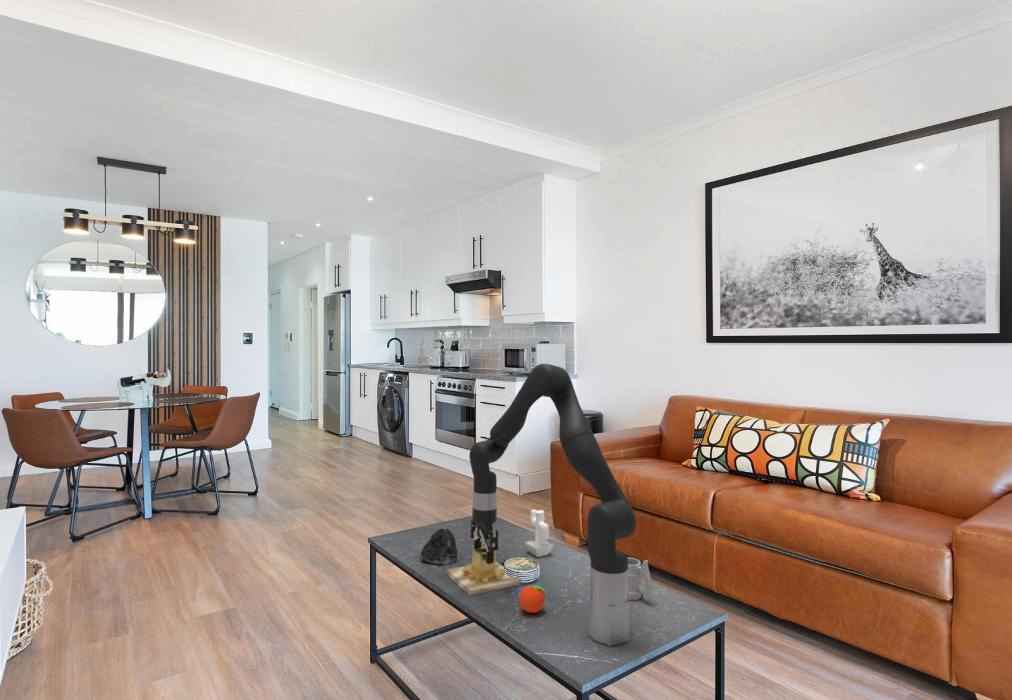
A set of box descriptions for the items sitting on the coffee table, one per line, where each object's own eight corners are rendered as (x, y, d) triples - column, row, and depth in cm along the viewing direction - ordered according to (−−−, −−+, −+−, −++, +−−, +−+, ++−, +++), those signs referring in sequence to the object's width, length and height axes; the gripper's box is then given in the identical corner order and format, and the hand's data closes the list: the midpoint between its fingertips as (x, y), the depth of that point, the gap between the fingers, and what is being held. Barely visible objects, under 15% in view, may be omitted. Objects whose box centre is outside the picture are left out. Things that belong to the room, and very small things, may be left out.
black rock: (433, 571, 182) (437, 541, 182) (410, 555, 193) (414, 526, 192) (466, 565, 191) (470, 535, 191) (443, 550, 201) (447, 522, 201)
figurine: (537, 560, 192) (538, 515, 192) (522, 551, 200) (524, 508, 200) (555, 556, 195) (556, 513, 195) (540, 548, 204) (541, 506, 204)
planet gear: (509, 578, 173) (510, 553, 173) (474, 585, 167) (474, 559, 167) (491, 564, 183) (492, 541, 183) (458, 570, 178) (458, 546, 178)
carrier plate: (520, 584, 172) (521, 558, 172) (469, 595, 164) (470, 568, 164) (494, 565, 187) (495, 541, 187) (446, 574, 179) (447, 548, 179)
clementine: (549, 607, 158) (550, 581, 157) (547, 619, 151) (548, 592, 151) (521, 604, 159) (521, 579, 159) (517, 616, 152) (518, 589, 152)
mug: (627, 587, 172) (628, 547, 172) (659, 601, 163) (660, 559, 163) (610, 593, 168) (611, 552, 168) (641, 608, 158) (642, 565, 158)
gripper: (506, 510, 171) (505, 564, 171) (485, 499, 183) (484, 549, 183) (484, 513, 167) (482, 568, 167) (463, 501, 179) (462, 553, 180)
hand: (483, 558), depth 175 cm, fingers open, 8 cm apart
